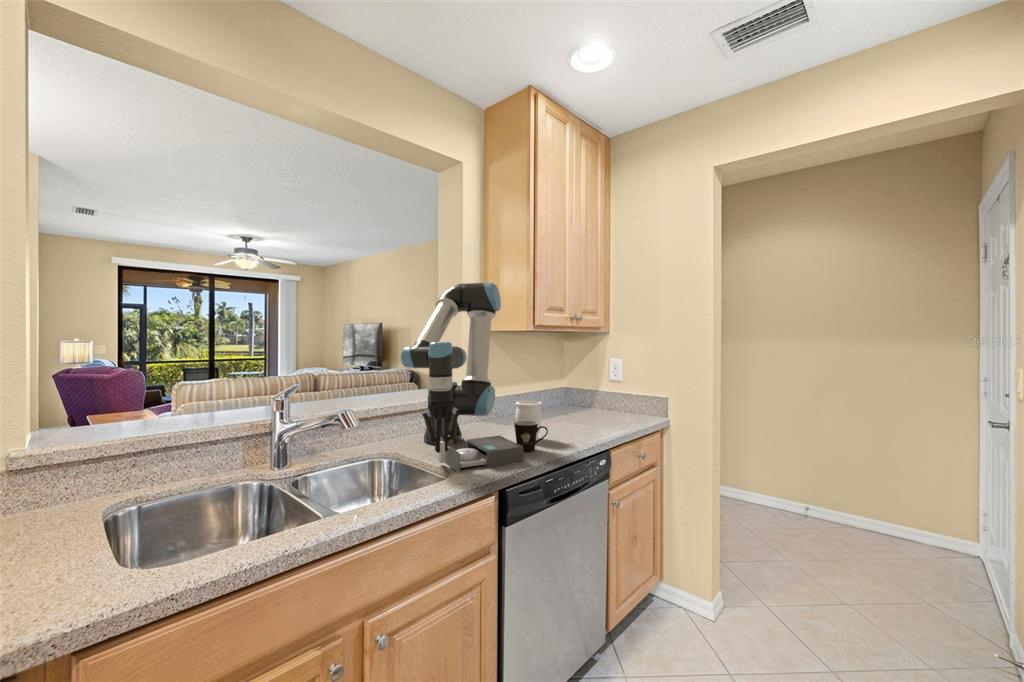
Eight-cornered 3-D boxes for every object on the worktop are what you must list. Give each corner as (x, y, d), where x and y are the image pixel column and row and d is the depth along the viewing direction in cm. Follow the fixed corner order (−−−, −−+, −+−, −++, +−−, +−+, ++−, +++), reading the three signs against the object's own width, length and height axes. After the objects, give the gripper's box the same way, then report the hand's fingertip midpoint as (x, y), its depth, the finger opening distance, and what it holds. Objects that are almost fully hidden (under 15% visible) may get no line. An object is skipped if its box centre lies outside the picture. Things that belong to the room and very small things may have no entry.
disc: (472, 452, 155) (472, 446, 155) (481, 458, 148) (481, 452, 148) (450, 456, 152) (450, 449, 151) (458, 462, 144) (458, 455, 144)
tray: (438, 458, 154) (438, 442, 154) (473, 453, 160) (472, 437, 160) (456, 472, 139) (455, 454, 139) (493, 466, 145) (493, 448, 145)
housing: (466, 454, 160) (466, 438, 159) (499, 449, 166) (499, 434, 165) (487, 467, 143) (487, 451, 143) (523, 462, 149) (523, 446, 149)
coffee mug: (510, 451, 163) (510, 424, 163) (520, 446, 170) (520, 419, 170) (539, 455, 157) (539, 427, 157) (549, 449, 165) (548, 422, 165)
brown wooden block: (438, 454, 159) (438, 437, 159) (449, 452, 161) (449, 436, 161) (442, 457, 156) (442, 440, 156) (453, 455, 158) (453, 438, 158)
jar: (510, 439, 181) (510, 402, 181) (528, 435, 188) (528, 399, 188) (528, 443, 173) (528, 405, 173) (547, 439, 180) (546, 402, 180)
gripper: (424, 392, 139) (425, 467, 140) (463, 389, 145) (464, 462, 145) (417, 389, 146) (418, 461, 146) (455, 386, 152) (456, 456, 152)
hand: (441, 461), depth 146 cm, fingers closed
